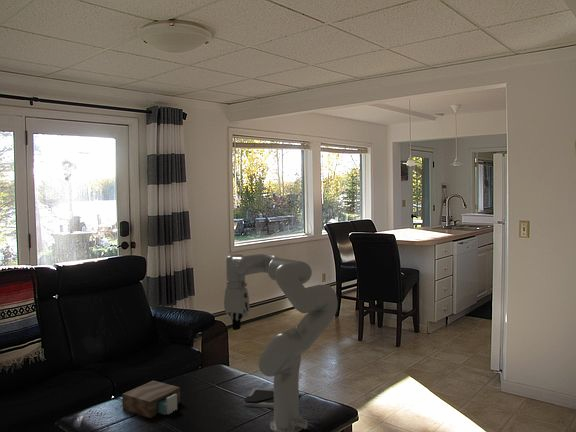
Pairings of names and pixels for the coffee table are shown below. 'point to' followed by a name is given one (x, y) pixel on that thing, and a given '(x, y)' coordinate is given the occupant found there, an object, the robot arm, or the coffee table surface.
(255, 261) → the robot arm
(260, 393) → the picture frame
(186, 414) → the coffee table surface
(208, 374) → the coffee table surface
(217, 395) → the coffee table surface
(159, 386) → the walnut rack
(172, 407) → the teal shell
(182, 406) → the coffee table surface
